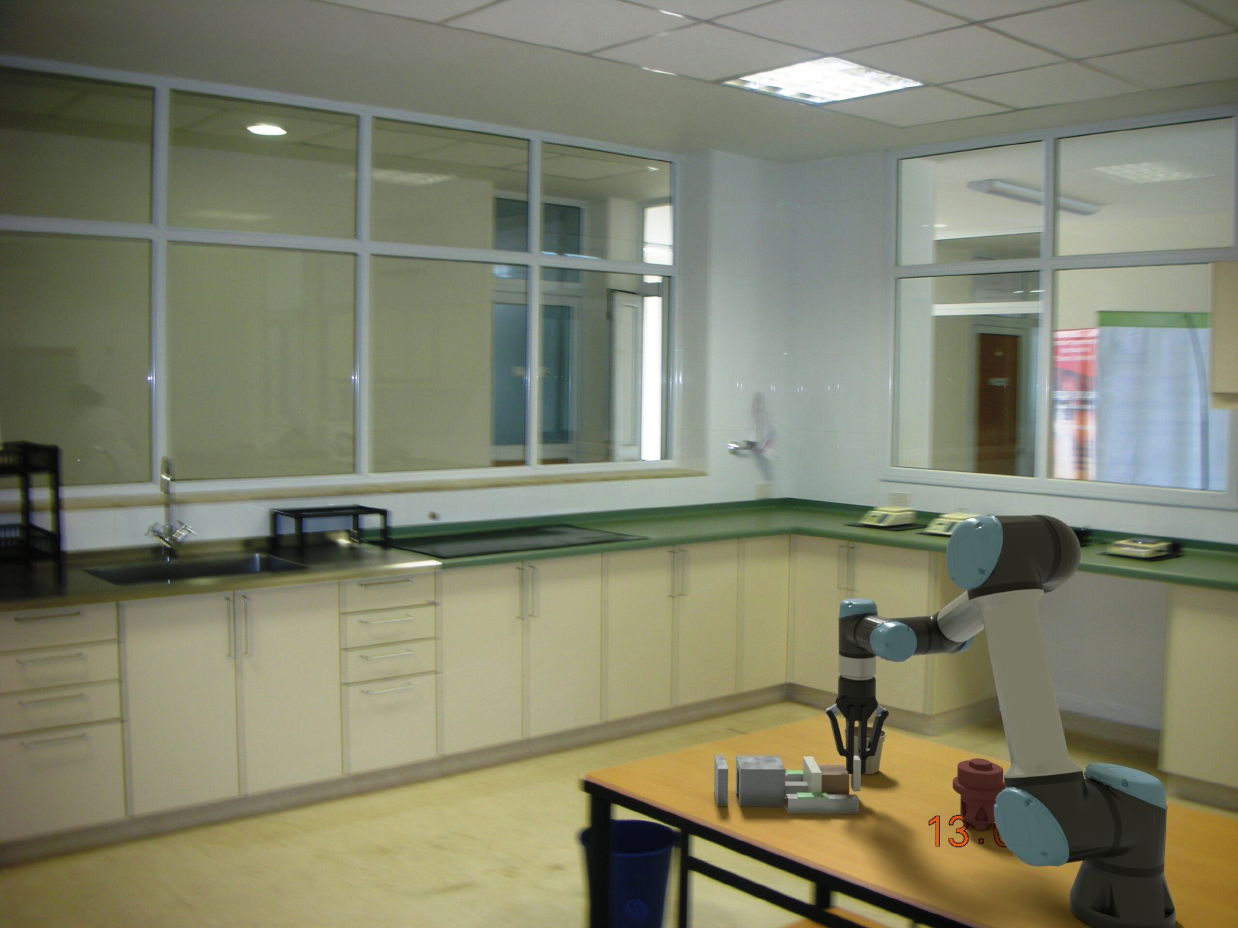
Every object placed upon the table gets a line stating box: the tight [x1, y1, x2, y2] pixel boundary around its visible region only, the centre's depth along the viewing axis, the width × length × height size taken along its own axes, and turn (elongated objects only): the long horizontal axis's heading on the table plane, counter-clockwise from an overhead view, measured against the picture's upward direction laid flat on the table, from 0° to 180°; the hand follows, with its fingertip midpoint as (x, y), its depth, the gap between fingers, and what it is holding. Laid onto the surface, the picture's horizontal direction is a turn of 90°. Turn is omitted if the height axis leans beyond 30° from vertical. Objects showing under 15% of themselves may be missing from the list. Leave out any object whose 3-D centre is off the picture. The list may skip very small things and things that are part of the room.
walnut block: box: [817, 764, 850, 794], centre depth 218 cm, size 6×6×6 cm
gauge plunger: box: [785, 756, 822, 798], centre depth 218 cm, size 10×14×7 cm
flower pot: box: [842, 725, 888, 775], centre depth 235 cm, size 9×9×9 cm
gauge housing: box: [713, 754, 860, 815], centre depth 218 cm, size 16×28×8 cm, turn 90°
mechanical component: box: [952, 757, 1006, 832], centre depth 204 cm, size 12×10×10 cm
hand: (855, 788), depth 218 cm, fingers closed
